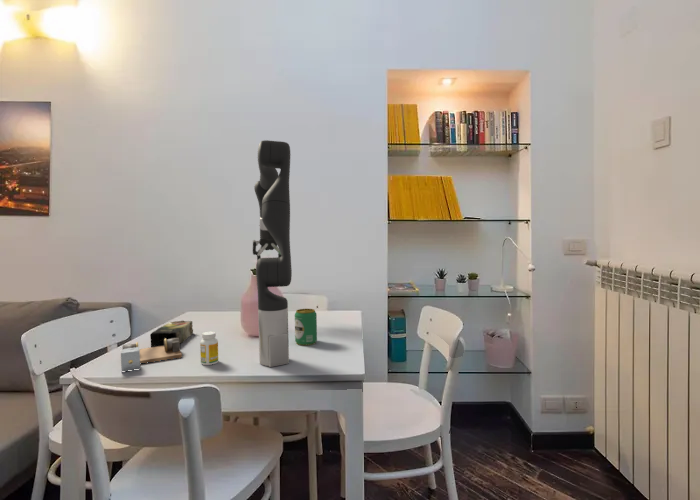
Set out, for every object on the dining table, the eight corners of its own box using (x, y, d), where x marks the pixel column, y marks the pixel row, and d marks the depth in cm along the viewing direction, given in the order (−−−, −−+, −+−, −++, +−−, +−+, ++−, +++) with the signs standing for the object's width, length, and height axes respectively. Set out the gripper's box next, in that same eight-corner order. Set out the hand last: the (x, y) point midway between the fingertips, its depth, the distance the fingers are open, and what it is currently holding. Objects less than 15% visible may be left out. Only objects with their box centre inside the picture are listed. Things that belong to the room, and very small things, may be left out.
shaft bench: (176, 346, 148) (176, 332, 147) (182, 357, 135) (181, 341, 135) (123, 354, 139) (122, 339, 139) (123, 367, 127) (122, 350, 127)
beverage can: (290, 342, 151) (290, 310, 150) (307, 338, 156) (307, 307, 156) (304, 347, 145) (303, 313, 144) (321, 342, 151) (320, 310, 150)
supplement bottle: (198, 366, 127) (197, 335, 127) (203, 360, 133) (202, 331, 132) (216, 365, 128) (215, 335, 127) (220, 359, 133) (219, 330, 132)
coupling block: (140, 370, 125) (139, 350, 124) (121, 373, 122) (120, 353, 122) (139, 365, 129) (138, 346, 128) (121, 368, 126) (120, 349, 126)
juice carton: (169, 333, 167) (169, 319, 166) (194, 333, 167) (194, 318, 167) (149, 349, 147) (148, 332, 146) (177, 348, 147) (177, 332, 147)
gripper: (252, 230, 171) (253, 266, 176) (286, 228, 175) (287, 264, 180) (251, 225, 178) (252, 260, 183) (284, 224, 181) (284, 258, 187)
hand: (269, 262), depth 181 cm, fingers open, 8 cm apart
